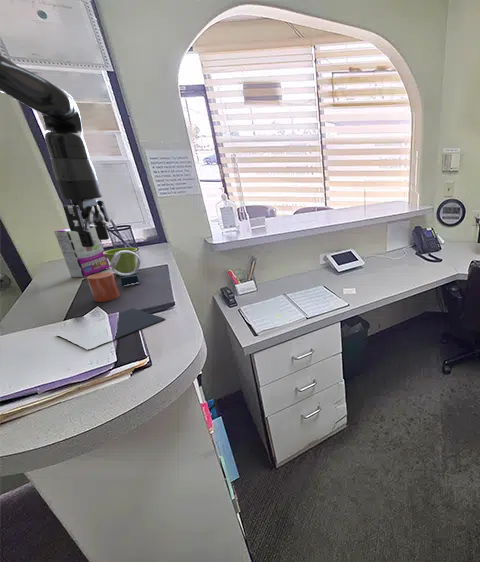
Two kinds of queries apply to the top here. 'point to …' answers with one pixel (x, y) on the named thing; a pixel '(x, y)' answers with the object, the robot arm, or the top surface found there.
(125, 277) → the watch
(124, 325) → the desk mat
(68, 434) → the top surface
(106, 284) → the orange cylinder
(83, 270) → the candy bar box
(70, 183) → the robot arm
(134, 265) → the plant pot
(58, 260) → the top surface
